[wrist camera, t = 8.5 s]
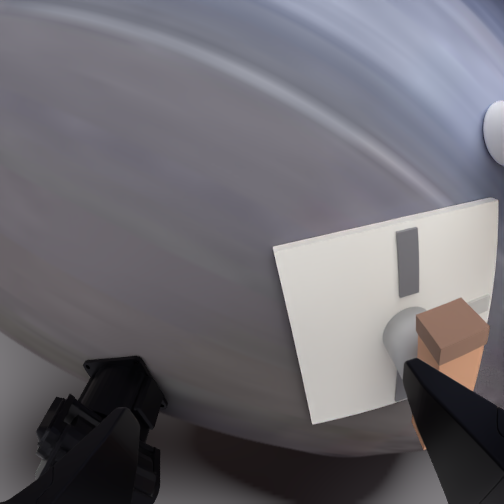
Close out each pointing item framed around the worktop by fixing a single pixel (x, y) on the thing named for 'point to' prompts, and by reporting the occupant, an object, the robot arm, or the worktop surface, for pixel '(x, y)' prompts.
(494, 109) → the drinking glass
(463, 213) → the base plate
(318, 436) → the worktop surface
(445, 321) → the handle
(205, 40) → the worktop surface
